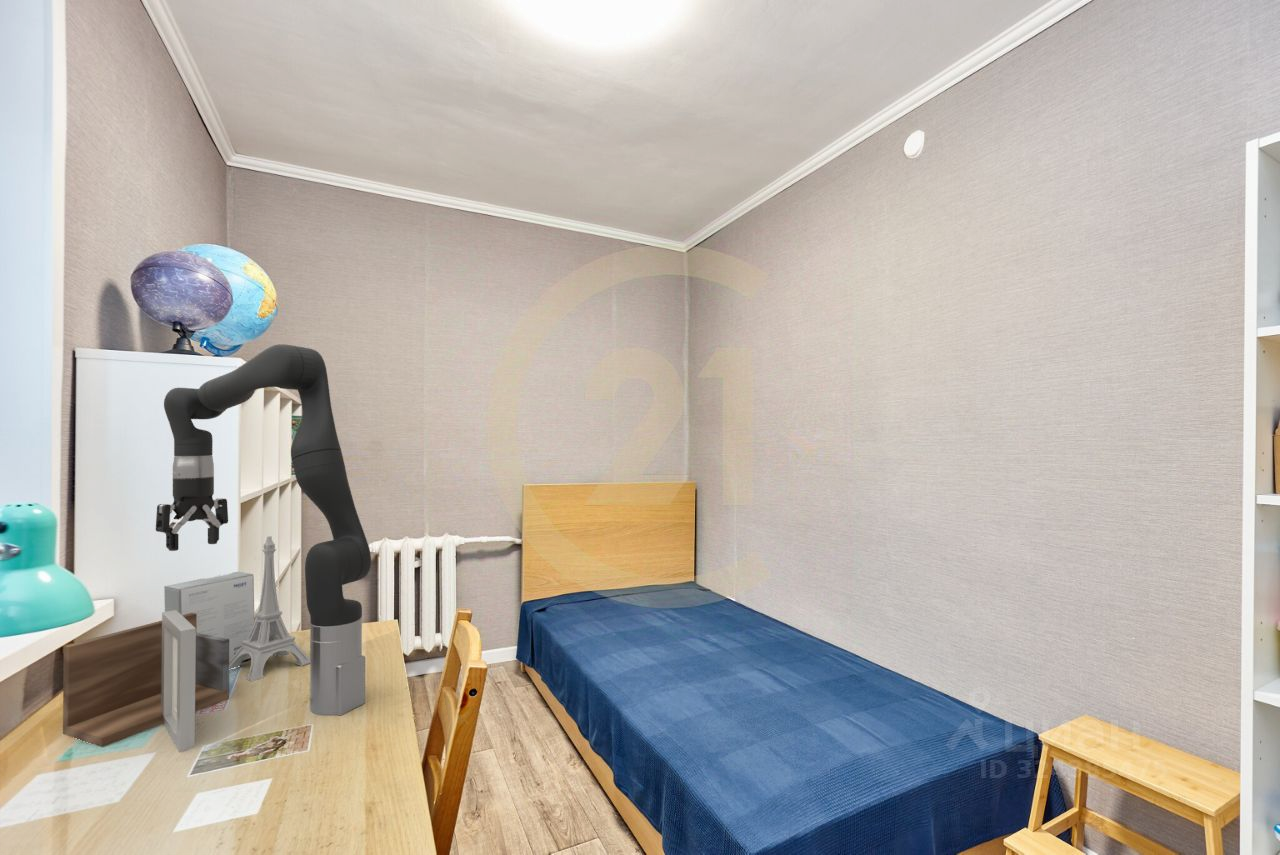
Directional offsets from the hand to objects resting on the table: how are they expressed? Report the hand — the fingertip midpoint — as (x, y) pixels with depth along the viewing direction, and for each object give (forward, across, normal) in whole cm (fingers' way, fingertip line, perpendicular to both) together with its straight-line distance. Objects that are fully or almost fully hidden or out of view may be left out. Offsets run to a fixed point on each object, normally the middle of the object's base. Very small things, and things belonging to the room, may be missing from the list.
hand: (193, 547), depth 134 cm
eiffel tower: (+29, +8, -13) cm, 32 cm away
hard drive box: (+28, +3, -1) cm, 28 cm away
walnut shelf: (+28, -18, -15) cm, 37 cm away
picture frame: (+29, -20, -27) cm, 44 cm away
